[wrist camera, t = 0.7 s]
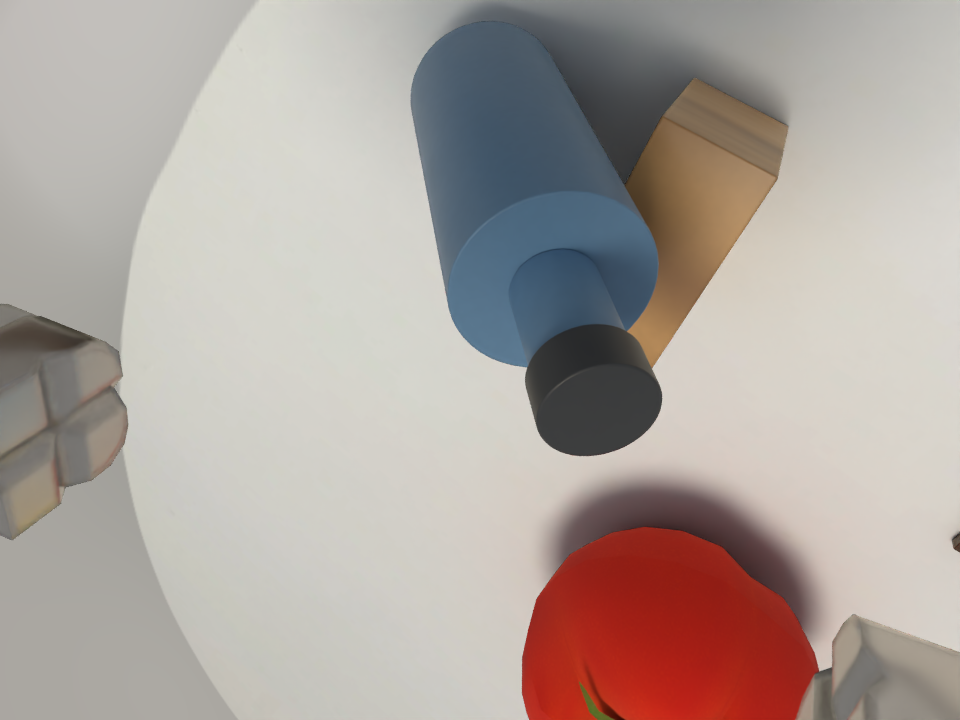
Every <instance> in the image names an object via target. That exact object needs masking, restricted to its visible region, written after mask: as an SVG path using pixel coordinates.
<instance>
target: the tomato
mask: <svg viewBox="0 0 960 720" xmlns="http://www.w3.org/2000/svg"><path fill="white" fill-rule="evenodd" d="M817 672H819V668H818V664H817V661H816V657H815V653H814V651H813V649H812V647H811V645H810V643H809V641H808V639H807V637H806V635H805V633H804V631H803V629H802V627H801V625H800V623H799V621H798V619H797V617H796V616H795V614H794V613H793V611H792V610H791V609H790V607H789V606H788V604H787V603H786V601H785V600H784V598H783V597H781V596H780V595H778V594H777V593H775V592H773V591H772V590H770V589H769V588H767V587H766V586H764V585H762V584H761V583H759V582H758V581H756V580H755V579H753V578H751V577H750V576H749V575H748V574H747V573H746V572H745V571H744V570H743V568H742V567H741V566H740V565H739V564H738V563H737V562H736V561H735V560H734V559H733V558H732V557H731V556H730V555H729V554H728V553H727V551H726V550H725V549H724V548H723V547H721V546H719V545H716V544H714V543H711V542H709V541H706V540H704V539H701V538H699V537H697V536H694V535H692V534H689V533H687V532H684V531H679V530H670V529H661V528H652V527H640V528H635V529H629V530H623V531H617V532H612V533H610V534H608V535H606V536H604V537H602V538H600V539H598V540H595V541H593V542H591V543H589V544H587V545H585V546H583V547H582V548H580V549H578V550H577V551H575V552H573V553H572V554H570V555H569V556H568V557H567V559H566V560H565V561H564V562H563V564H562V565H561V566H560V567H559V569H558V570H557V571H556V573H555V574H554V575H553V576H552V578H551V579H550V581H549V582H548V583H547V585H546V586H545V588H544V589H543V590H542V592H541V593H540V595H539V596H538V597H537V599H536V603H535V607H534V610H533V614H532V618H531V622H530V625H529V629H528V633H527V638H526V643H525V647H524V652H523V656H522V695H523V699H524V704H525V708H526V712H527V715H528V717H529V720H795V719H796V716H797V713H798V710H799V707H800V704H801V700H802V697H803V695H804V693H805V691H806V689H807V687H808V686H809V684H810V682H811V680H812V678H813V676H814V674H815V673H817Z"/></svg>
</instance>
